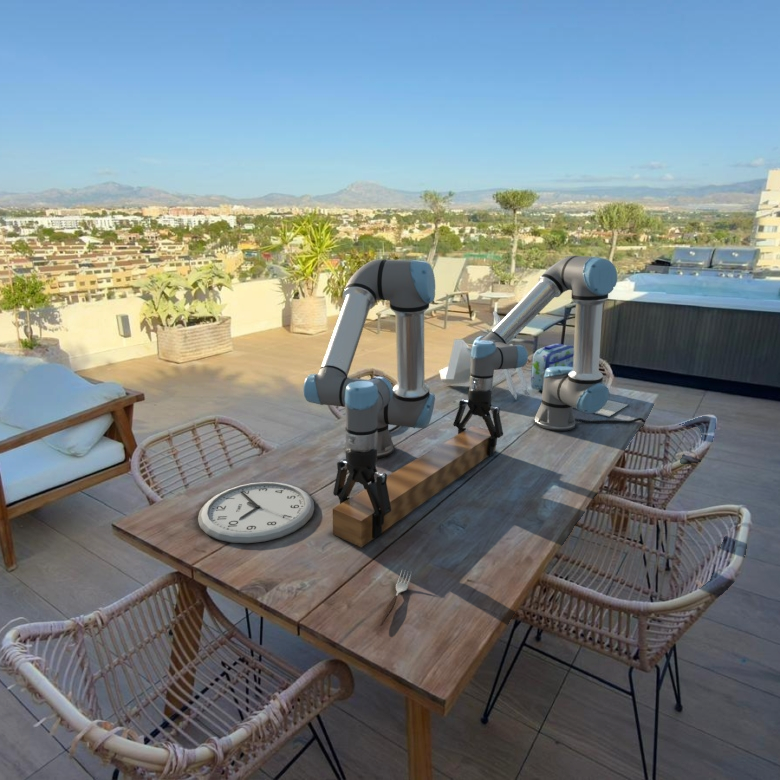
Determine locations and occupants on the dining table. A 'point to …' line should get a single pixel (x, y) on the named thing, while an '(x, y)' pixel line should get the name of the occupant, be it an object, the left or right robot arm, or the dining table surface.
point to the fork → (400, 588)
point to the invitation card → (611, 408)
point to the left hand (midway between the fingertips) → (361, 529)
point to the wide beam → (412, 485)
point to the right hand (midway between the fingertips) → (476, 450)
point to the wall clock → (256, 512)
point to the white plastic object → (462, 362)
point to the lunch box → (549, 361)
